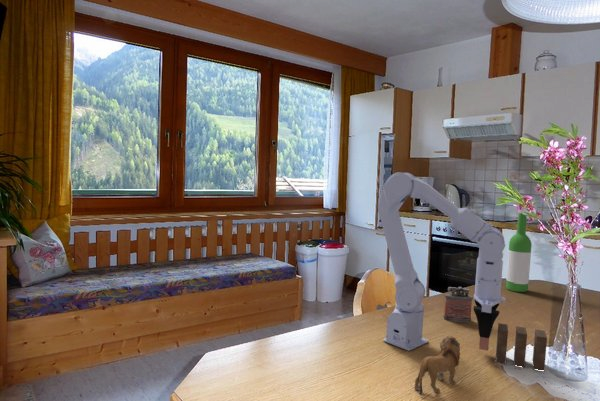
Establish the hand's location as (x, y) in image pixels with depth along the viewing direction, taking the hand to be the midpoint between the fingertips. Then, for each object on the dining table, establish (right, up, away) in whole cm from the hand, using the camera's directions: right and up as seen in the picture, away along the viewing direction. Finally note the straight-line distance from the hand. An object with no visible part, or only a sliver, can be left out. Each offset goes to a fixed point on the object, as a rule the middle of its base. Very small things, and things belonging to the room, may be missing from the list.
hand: (484, 333), depth 107 cm
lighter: (+3, -4, +26) cm, 27 cm away
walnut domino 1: (+3, -6, -1) cm, 7 cm away
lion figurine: (-16, -6, -15) cm, 23 cm away
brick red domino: (0, -3, 0) cm, 3 cm away
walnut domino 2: (+7, -6, -3) cm, 10 cm away
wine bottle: (+39, -3, +63) cm, 75 cm away
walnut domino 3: (+11, -7, -4) cm, 13 cm away
